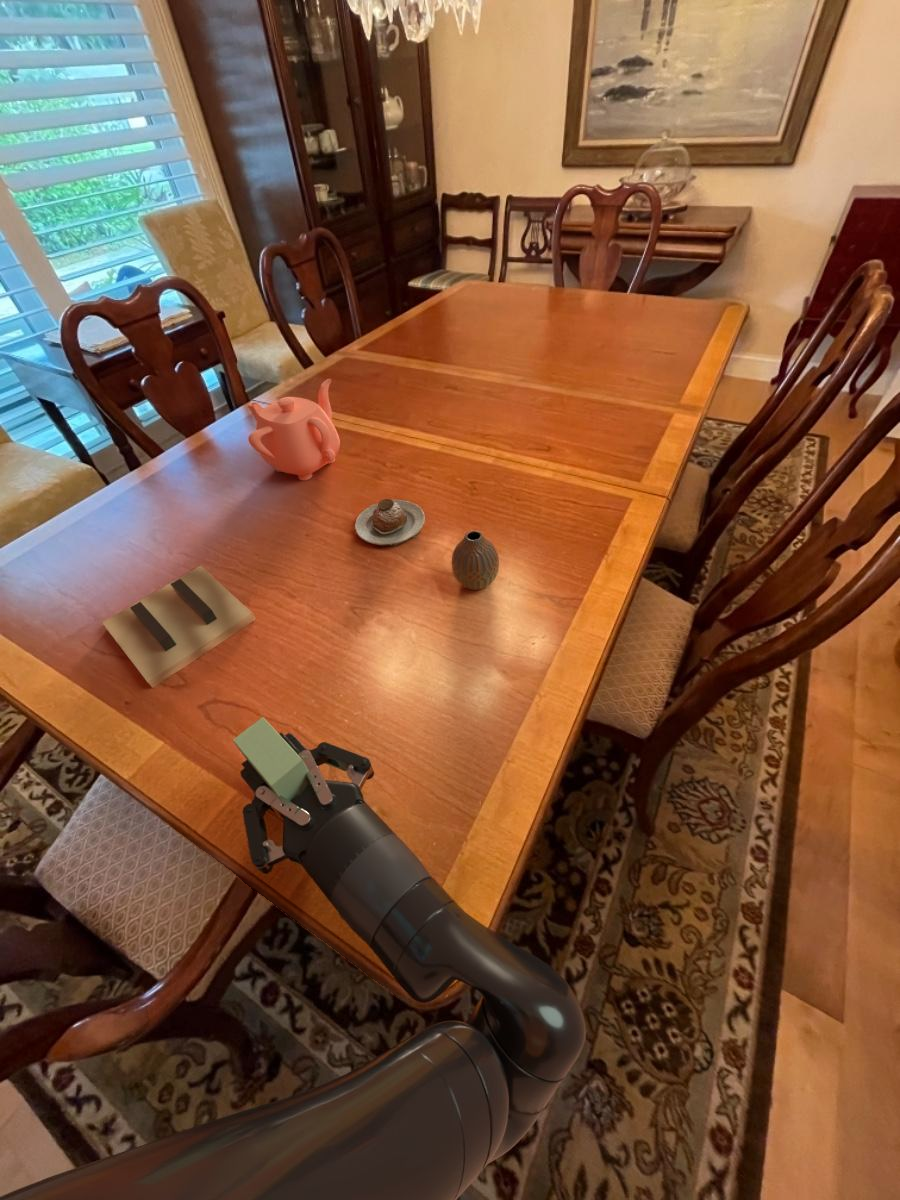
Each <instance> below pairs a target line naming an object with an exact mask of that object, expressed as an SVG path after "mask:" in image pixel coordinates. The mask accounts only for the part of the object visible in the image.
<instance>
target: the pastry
mask: <svg viewBox="0 0 900 1200" xmlns="http://www.w3.org/2000/svg"><path fill="white" fill-rule="evenodd" d="M425 521H426V515H425V513H424V510H423V509H422V507H420V506H419V504H417V503H414V502H411V501H408V500H404V499H390V498H384V499H381V500H380V501H378V502H377V503H375V504H372V505H369V506H368V507H367V508H366V509H364V510H362V511H361V512H360V513H359V515H358V516H357V517H356V519H355V524H354V530H355V532H356V534H357V536H358V537H359V538H360V539H361V540H362V541H364V542H367V543H369V544H373V545H376V546H380V547H387V546H389V547H397V546H398V545H401V544H403V543H404V542H407V541H408V540H411V539H414V537H416V536H418V535H419V532H420V531H421V530H422V528H423V527H424V525H425Z"/></svg>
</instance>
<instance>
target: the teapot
mask: <svg viewBox="0 0 900 1200" xmlns="http://www.w3.org/2000/svg"><path fill="white" fill-rule="evenodd" d="M331 383H332V378H327V379H325V380H324V381H323V382H322V383H321V385H320V386H319V389H318V398H317V403H316V402H315V401H312V400H310V399H308V398H304V397H297V396H285V397H281V398H280V399H278V400H275V401H274V402H272V403H270V404H269V405H267V406H265V407H263V406H261V405H260V404H259V402H254V401H252V402H250V403H249V404H247V407H248V409H249V410H250V413H251V415H252V416H253V418H254V420H255V421H256V427H255V428H256V429H255V430H254V431H252V432H251V433H250V434H249V436H248V444H250V446H251V447H252V448H253V450H255V451H256V452H258V453H259V454H260V456H261V458H262V459H263V460H264V462H266V463H267V464H269V466H271V467H272V468H274V469H275V471H276V472H278V473H280V472H283V473H285V474H290V475H297V477H298V479H299V480H300V481H308V480H310V479H311V478H312V477H313V473H314V472H316V471H318V470H320V469H321V468H323V467H324V466H326V465H327V464H328V465H329V464H332V463H334V462H335V461H336V456H337V455H338V453H339V450H340V446H341V440H340V436H339V433H338V431H337V428H336V427H335V425H334V423H333V422H332V419H333V410H332V406H331V404H330V398H329V388H330V386H331Z"/></svg>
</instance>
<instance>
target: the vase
mask: <svg viewBox="0 0 900 1200" xmlns="http://www.w3.org/2000/svg"><path fill="white" fill-rule="evenodd" d="M499 568H500V558H499V554H498V551H497V548H496V547H495V545H494V544H493V543H492V541H490V539H488V538H486V537H485V536H484V535H483V533H482V532H481V531H480V530H477V529H474V530H473V529H472V530H469V531H467V532H466V533H465V534H464V537H463V538H462V539H461V540H460V541H459V542H458V543H457V544H456V545H455V548H454V549H453V552H452V556H451V570H452V574H453V576H454V578H455V580H456V581H457V582H458V583H459V584H460V585H461V587H464V588H466V589H468V590H473V591H479V590H483V589H485V588H487V587H489V586H490V585H492V583H493V582H494V581H495V579H496V578H497V576H498V573H499Z"/></svg>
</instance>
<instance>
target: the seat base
mask: <svg viewBox="0 0 900 1200" xmlns="http://www.w3.org/2000/svg"><path fill="white" fill-rule="evenodd" d="M255 621H256V617H255V615H254V613H253V612H252V611H251V610H250V609H248V607H247V606H245V604H243V603H242V602H241V601H240V600H239V599H238V598H237V597H235V596H234V594H233V593H231V592H230V591H229V590H228V589H227V588H226V587H225V586H224V585H222V584H221V583H220V581H218V580H217V579H216V578H215V577H214V576H213V575H212V574H210V573H209V571H207V570H206V569H205V567H203V566H202V565H199V566H197V567H195V568H194V569H192V570H190V571H189V572H187V573H185V574H183V575H182V576H179V577H178V578H176V579H174V580H172V581H171V582H170V583H168V584H166V585H164V586H163V587H161V588H159V589H157V590H156V591H154V592H152V593H151V594H149V595H147V596H145V597H143V598H142V599H139V600H138V601H137V602H135V603H133V604H132V605H130V606H128V607H125V609H123V610H121V611H119V612H118V613H116V614H114V615H113V616H111V617H109V618H106V620H103V621H102V622H101V624H102V625H103V627H104V628H105V629H106V630H107V631H108V633H109V634H110V635H111V637H112V639H114V641H115V642H116V643H117V645H118V646H119V647H120V649H121V650H122V652H123V653H124V654H125V655H126V656H127V658H128V659H129V660H130V662H131V663H132V664H133V666H134V667H135V668H136V669H137V671H138V672H139V673H140V675H141V676H142V677H143V679H144V680H145V681H146V682H147V684H148V685H149V686H150V687H151V688H152V689H154V688H155V687H157V686H158V685H160V684H161V683H163V682H164V681H166V680H167V679H169V678H170V677H172V676H174V674H176V673H178V672H180V671H181V670H182V669H184V668H185V667H187V666H188V665H190V664H191V663H193V662H194V661H196V660H197V659H199V658H201V657H202V656H204V655H205V654H207V653H208V652H210V651H211V650H212V649H214V648H215V647H217V646H219V645H220V644H222V643H223V642H225V641H226V640H228V639H229V638H231V637H232V636H234V635H235V634H237V633H238V632H240V631H241V630H243V629H244V628H246V627H247V626H249V625H250V624H252V623H253V622H255Z"/></svg>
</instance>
